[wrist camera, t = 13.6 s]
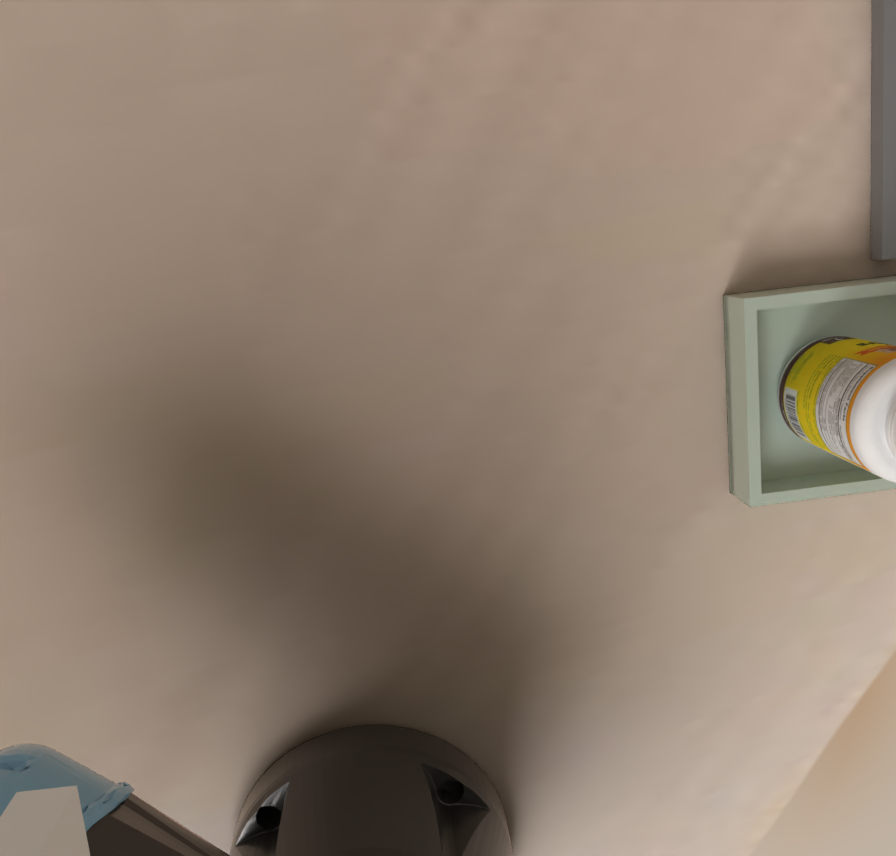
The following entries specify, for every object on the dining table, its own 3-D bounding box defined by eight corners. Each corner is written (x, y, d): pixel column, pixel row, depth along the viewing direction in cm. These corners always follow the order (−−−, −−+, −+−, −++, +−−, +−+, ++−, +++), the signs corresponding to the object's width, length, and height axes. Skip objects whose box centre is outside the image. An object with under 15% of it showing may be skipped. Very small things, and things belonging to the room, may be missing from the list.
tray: (919, 468, 45) (950, 481, 42) (729, 492, 44) (749, 507, 42) (923, 271, 43) (955, 274, 40) (723, 295, 42) (743, 298, 40)
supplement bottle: (901, 369, 43) (1056, 408, 33) (836, 461, 44) (968, 527, 34) (814, 311, 42) (946, 334, 32) (749, 407, 43) (859, 459, 33)
